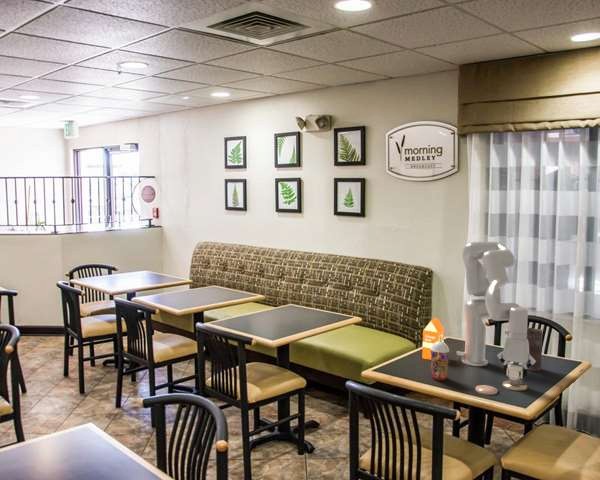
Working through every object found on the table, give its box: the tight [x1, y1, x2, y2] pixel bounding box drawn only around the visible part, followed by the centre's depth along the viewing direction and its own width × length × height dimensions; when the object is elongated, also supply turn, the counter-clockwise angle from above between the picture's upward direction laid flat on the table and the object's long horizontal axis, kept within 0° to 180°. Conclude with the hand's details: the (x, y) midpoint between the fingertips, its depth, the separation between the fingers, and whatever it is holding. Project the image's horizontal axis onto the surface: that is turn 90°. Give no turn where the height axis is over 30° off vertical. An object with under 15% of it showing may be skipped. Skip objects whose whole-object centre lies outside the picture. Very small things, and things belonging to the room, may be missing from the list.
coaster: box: [475, 384, 499, 396], centre depth 239 cm, size 9×9×1 cm
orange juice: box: [421, 317, 445, 361], centre depth 283 cm, size 8×9×20 cm
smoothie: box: [430, 335, 451, 381], centre depth 252 cm, size 8×8×20 cm
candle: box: [527, 327, 543, 372], centre depth 266 cm, size 8×7×20 cm
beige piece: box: [502, 372, 528, 392], centre depth 244 cm, size 10×10×8 cm
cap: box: [505, 361, 524, 379], centre depth 243 cm, size 7×7×6 cm
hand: (515, 375), depth 244 cm, fingers closed on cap, 6 cm apart
